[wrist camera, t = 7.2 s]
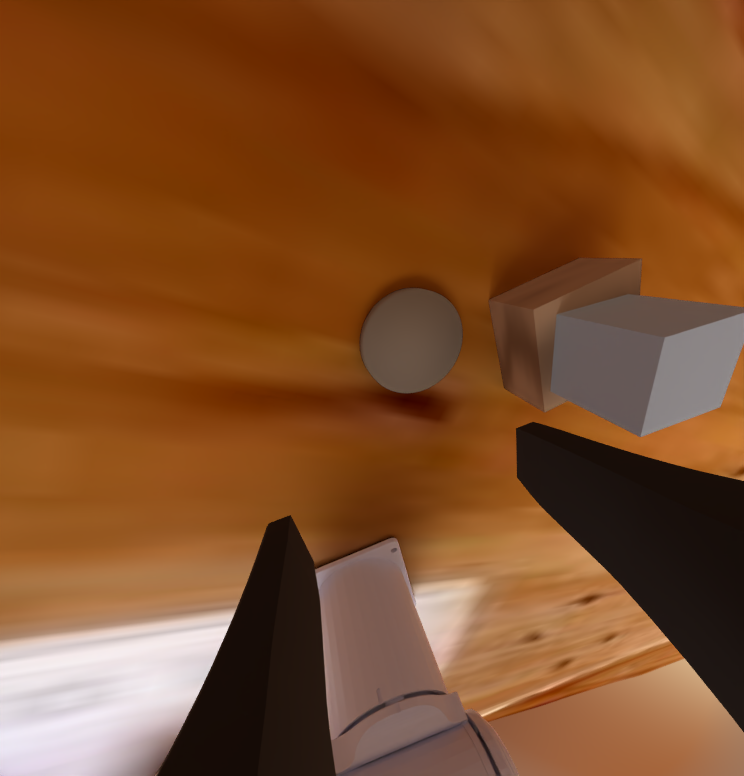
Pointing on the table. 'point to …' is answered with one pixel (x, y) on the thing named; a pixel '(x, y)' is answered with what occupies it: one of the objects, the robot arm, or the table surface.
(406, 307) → the smooth gray stone
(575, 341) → the gray block
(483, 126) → the table surface
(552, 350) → the walnut block
